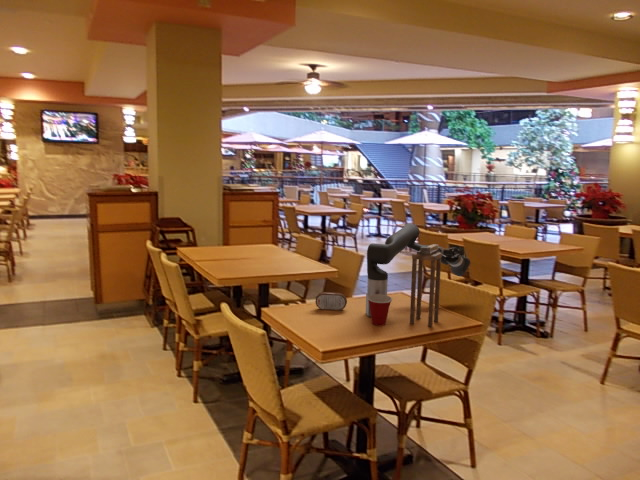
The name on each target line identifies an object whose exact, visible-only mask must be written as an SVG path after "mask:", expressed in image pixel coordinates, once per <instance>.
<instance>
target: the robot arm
mask: <svg viewBox="0 0 640 480" xmlns="http://www.w3.org/2000/svg"><path fill="white" fill-rule="evenodd" d="M420 231H421V230H420V228H419V227H418V226H417V225H415V224H413V223H405V224H404V225H403V226H402V228H400V229H399V230H397V231H396V232H394V233H393V234H390V235H389V236H388V237H387V238H386V240H385V241H384V244H383V243H373V242H372V243H369V245H368V247H367V250H366V271H367V273H366V275H367V285H366V287H367V289H366V294H365V314H366V316H367V317H369V318H370V317H371V313H370V305H369V300H368V298H367V297H368V296H369V295H374V294H381V295H387V296H388V286H389V285H388V284H389V283H388V282H389V280H388V279H389V278H388V277H389V273H388V272H387V271H385V270H384V269H382V268H380V267H379V265H388V264H390V263H391V261H393V259H394V258H395V257H396V256H397V255H398V254H399V253H401V252H402V251H403V250H405V249H406V247H407V248H409V249H411V250H413V251H416V252H418V251H420V247H423V246H424V247H428V246H430V245H431V244H430V245H426V244H425V245H424V244H421V243H417V242H416V241H417V240H418V238H419V236H420ZM437 253H442V258H441V264H443V265H445V266H448V265H450V270H451V272H452V273H453V274H454V275H455V276H457V277H462V276H464V275H465V274H466V272H467V270H468V268H469V267H470V264H471V260H470V259H469V257H466V252H465V250H463V249H461V250H460V249H458V248H457V247H449V248H446V247H442V246H440V245H439V249H438V250H437Z"/></svg>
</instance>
